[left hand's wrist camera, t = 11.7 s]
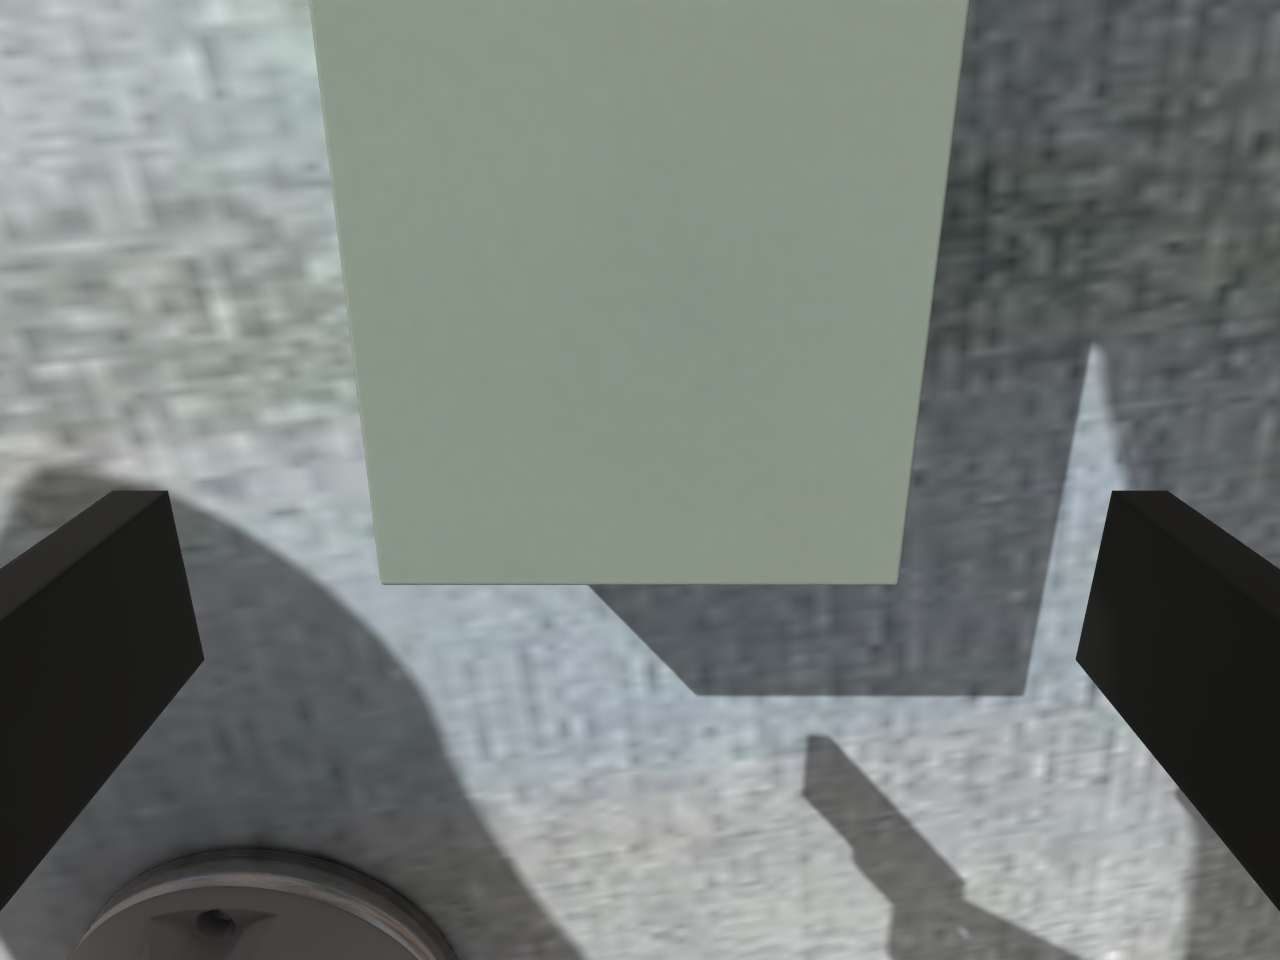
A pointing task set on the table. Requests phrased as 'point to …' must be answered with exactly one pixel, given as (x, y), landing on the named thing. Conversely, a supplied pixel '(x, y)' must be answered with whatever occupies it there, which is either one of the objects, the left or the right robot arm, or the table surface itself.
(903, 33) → the grey box
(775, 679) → the table surface
